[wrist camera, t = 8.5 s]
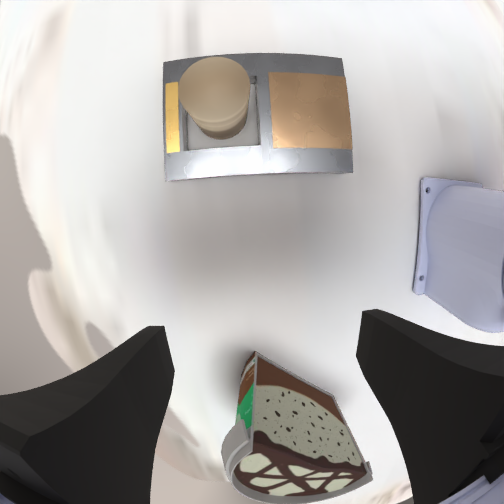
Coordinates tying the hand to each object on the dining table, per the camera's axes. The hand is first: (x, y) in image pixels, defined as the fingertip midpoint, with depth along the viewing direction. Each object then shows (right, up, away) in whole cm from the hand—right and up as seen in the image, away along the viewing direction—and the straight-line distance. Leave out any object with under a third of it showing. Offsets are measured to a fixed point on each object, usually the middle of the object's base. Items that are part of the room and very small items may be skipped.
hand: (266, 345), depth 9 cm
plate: (0, +12, +7) cm, 14 cm away
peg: (-2, +12, +7) cm, 14 cm away
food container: (+1, -10, +13) cm, 16 cm away
